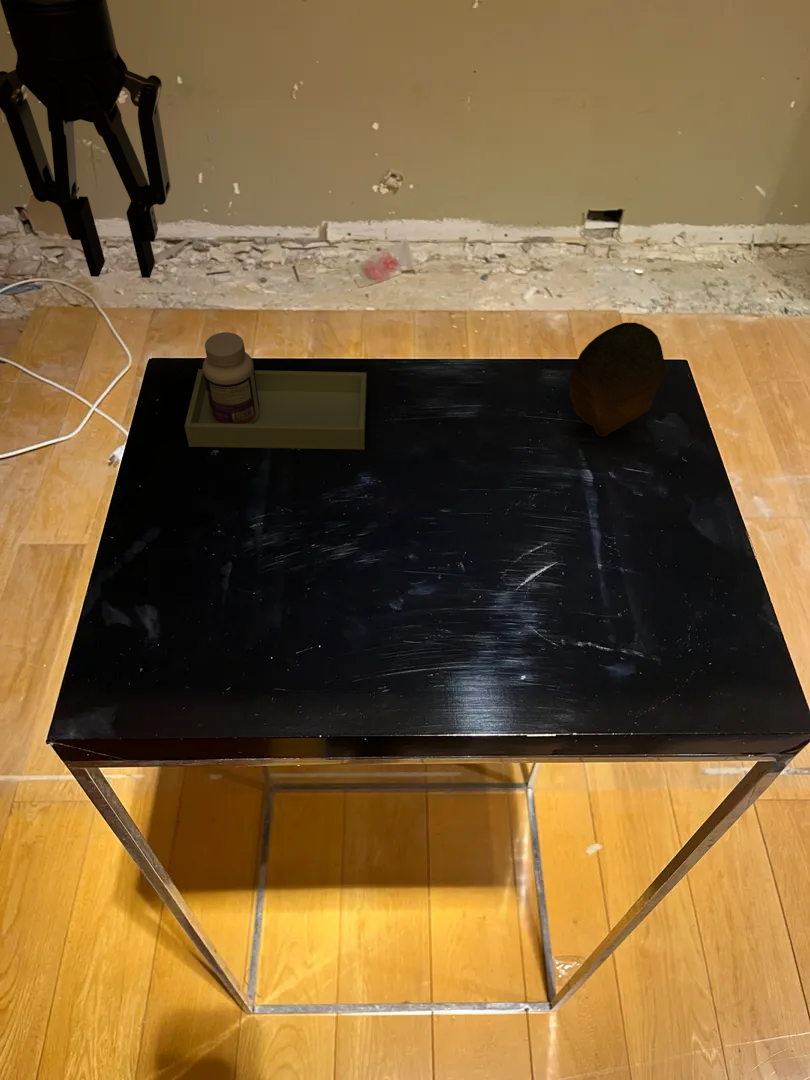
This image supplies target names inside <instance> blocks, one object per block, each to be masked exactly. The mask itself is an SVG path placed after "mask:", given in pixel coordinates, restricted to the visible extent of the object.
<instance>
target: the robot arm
mask: <svg viewBox="0 0 810 1080" xmlns="http://www.w3.org/2000/svg"><path fill="white" fill-rule="evenodd" d="M0 5H1V8H2V13H3V15H4V19H5V22H6V25H7V28H8V31H9V35H10V38H11V41H12V45H13V47H14V49H15V52H16V63H15V69H13V70H11V71H9V72H7V71H5V70H1V71H0V110H1V111H2V112H3V114H4V116H5V119H6V122H7V125H8V127H9V130H10V133H11V136H12V139H13V142H14V144H15V147H16V150H17V152H18V155H19V158H20V161H21V163H22V166H23V169H24V172H25V175H26V177H27V180H28V184H29V187H30V189H31V191H32V194H33V196H34V198H35V200H37V201H38V202H41V203H46V202H50V203H53V204H55V205H57V206H58V208H59V210H60V211H61V214H62V218H63V220H64V224H65V227H66V231H67V234H68V236H69V237H70V239H71V240H72V241H80V245H81V248H82V251H83V256H84V258H85V262H86V265H87V268H88V273H89V275H90V277H91V278H92V277H93V278H94V277H95V278H99V277H100V275H101V272H102V271H103V268H104V265H105V263H106V259H105V255H104V251H103V248H102V247H103V246H102V244H101V241H100V236H99V233H98V229H97V226H96V222H95V218H94V215H93V211H92V207H91V204H90V200H89V197H88V196H78V193H79V191H80V186H78V175H77V159H76V144H75V143H76V142H75V130H74V129H75V127H74V122H76V121H84V122H89V123H92V124H93V126H94V128H95V130H96V132H97V134H98V136H100V137H101V138H102V140H103V142H104V145H105V146H106V149H107V151H108V153H109V155H110V157H111V159H112V162H113V165H114V167H115V169H116V171H117V173H118V175H119V178H120V179H121V182H122V184H123V186H124V189H125V191H126V193H127V196H128V197H129V200H130V202H129V205H128V208H127V210H126V213H125V214H126V217H127V222H128V226H129V230H130V234H131V239H132V242H133V247H134V251H135V255H136V259H137V263H138V268H139V271H140V276H141V278H142V279H151V275H152V273H153V270H154V267H155V264H156V259H155V256H154V251H153V245H152V242H153V243H155V240H156V237H157V235H158V231H159V227H158V222H157V217H156V213H155V207H154V206H155V205H159V206H162V205H164V204H165V203H166V201H167V199H168V196H169V193H170V190H171V179H170V174H169V167H168V162H167V161H168V160H167V156H166V155H167V153H166V149H165V148H166V147H165V142H164V136H163V129H162V122H161V118H160V117H161V116H160V109H159V101H160V96H161V92H162V86H163V82H162V80H161V78H160V77H158V75H154V74H152V75H149V76H148V77H145V76H142V75H139V74H137V73H135V72H134V71H133V72H132V71H130V70H128V67H127V66H128V65H127V64H126V62H125V61H124V60H123V59H122V57H121V55H120V53H119V51H118V47H117V43H116V38H115V34H114V29H113V24H112V20H111V19H112V18H111V15H110V10H109V6H108V1H107V0H0ZM26 88H27V89H26ZM123 89H126V90H127V91H128V92H129V95H130V101H131V103H132V104H133V106H134V107H137V108H138V109H137V123H138V128H139V134H140V140H141V145H142V150H143V156H144V162H145V168H146V173H147V177H146V175H145V172H144V171H143V167H142V165H141V163H140V160H139V158H138V156H137V153H136V151H135V149H134V146H133V144H132V141H131V139H130V137H129V135H128V132H127V130H126V127H125V126H124V123H123V119H122V118H123V117H122V113H121V109H119V106H118V104H117V103H118V102H117V101H118V99H119V97H120V95H121V92H122V91H123ZM28 91H29V92H30V93H31V94H32V95H33V96H34V97H35V98H36V99H37V100H38V102H40V103H41V104H42V105H43V106H44V107H45V108H46V114H47V115H46V117H47V127H48V131H49V133H50V139H51V140H50V142H51V153H52V163H53V164H52V165H53V172H52V168H51V166H50V163H49V160H48V157H47V154H46V151H45V148H44V145H43V143H42V139H41V136H40V133H39V130H38V127H37V124H36V121H35V118H34V115H33V112H32V110H31V109H32V108H31V107H30V104H29V102H28V99H27V96H28Z"/></svg>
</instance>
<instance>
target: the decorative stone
mask: <svg viewBox="0 0 810 1080" xmlns="http://www.w3.org/2000/svg"><path fill="white" fill-rule="evenodd" d="M665 370H666V364H665V358H664V353H663V347H662V345H661V342H660V339H659V337H658V335H657V334H656V333H655V332H654V331H653V330H652V329H651V328H649V327H647V326H646V325H643V323H637V322H622V323H619V324H616V325H615V326H613V327H611V328H608V329H607V330H604V331H602V333H600V334H599V335H598V336H596V337H595V338H593V339H592V340H591V341H590V342H589V343H588V344H586V346H585V347H584V348H583V350H582V351H581V352H580V354H579V356H578V358H577V360H576V361H575V363H574V366H573V368H572V371H571V372H570V374H569V378H568V382H569V388H568V389H569V399H570V400H571V402H572V404H573V408H572V410H573V412H574V413H575V414H576V415H577V416H578V417H579V418H580V419H581V420H582V421H583V422H584V423H586V424H587V425H590V426H592V427H593V429H594V432H595V434H596V435H597V436H599V437H607V436H609V435H610V434H611V433H613V432H615V431H617V430H619V429H620V428H622V427H624V426H625V425H626V424H628V423H630V422H632V421H634V420H635V419H637V418H639V417H640V416H642V415H643V414H645V413H647V411H649V410H650V409H651V406H652V405H653V400H654V398H655V395H656V393H657V391H658V389H659V387H660V384H661V383H662V381H663V379H664V376H665V373H666V372H665Z"/></svg>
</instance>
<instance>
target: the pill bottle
mask: <svg viewBox="0 0 810 1080" xmlns="http://www.w3.org/2000/svg"><path fill="white" fill-rule="evenodd" d="M204 349H205V354H206V355H205V356H206V357H205V358H204V360H203V363H202V369H203V375H204V379H205V384H206V389H207V394H208V399H209V404H210V409H211V414H212V417H213V419H214V421H215V422H216V423H224V424H252V423H253V422H255V420H256V419H257V418H258V416H259V412H260V409H259V400H258V393H257V386H256V379H255V372H254V370H255V365H254V362H253V359H252V357H251V355H250V354H249V353H247V351H246V348H245V343H244V340H243V338H242V337H241V336H240V335H239V334H237V333H234V332H228V331H225V332H218V333H215V334H213V335H211V336H209V337H208V338H207V339H206V341H205V343H204Z"/></svg>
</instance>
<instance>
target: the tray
mask: <svg viewBox="0 0 810 1080" xmlns="http://www.w3.org/2000/svg"><path fill="white" fill-rule="evenodd" d="M254 372H255V379H256V386H257V393H258V400H259V409H260V412H259V416H258V418H257V419H256V420H255V422H253V423H252V424H224V423H216V422H215V421H214V419H213V417H212V414H211V409H210V404H209V399H208V394H207V389H206V384H205V379H204V375H203V368H201V369H200V368H198V369H197V373H196V378H195V381H194V385H193V390H192V394H191V397H190V401H189V406H188V411H187V414H186V418H185V422H184V431H185V434H186V439H187V443H188V447H190V448H245V449H246V448H247V449H250V448H252V449H301V450H303V449H305V450H306V449H310V450H357V451H358V450H364V451H365V450H366V448H365V447H366V422H367V420H366V419H367V396H368V395H367V392H368V391H367V390H368V389H367V388H368V387H367V385H368V384H367V382H368V381H367V372H364V371H363V372H360V371H359V372H357V371H313V370H312V371H311V370H310V371H305V370H257V369H256V370H255V369H254Z"/></svg>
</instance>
